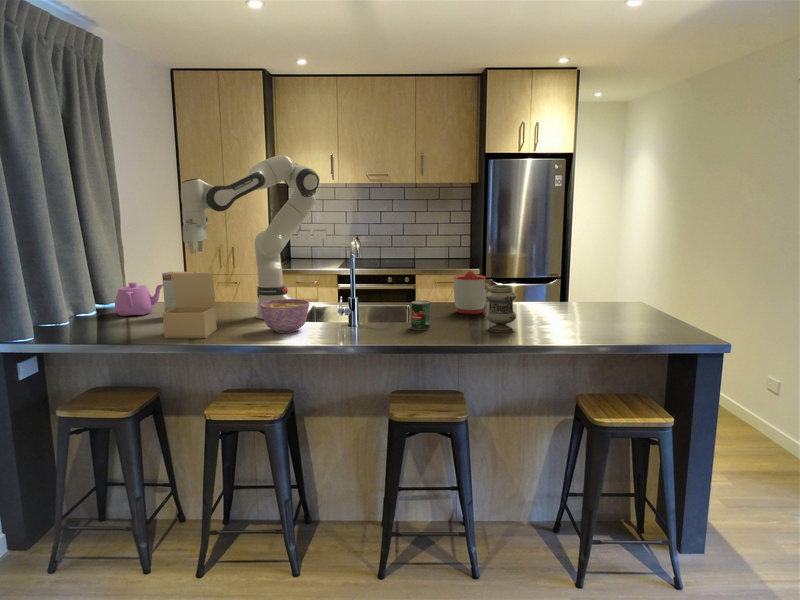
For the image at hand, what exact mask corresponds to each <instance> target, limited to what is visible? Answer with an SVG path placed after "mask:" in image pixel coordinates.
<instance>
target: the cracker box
mask: <svg viewBox="0 0 800 600" xmlns="http://www.w3.org/2000/svg"><path fill="white" fill-rule="evenodd" d="M172 273H198V272H197V271H166V272H163V273H162V274H161V276H162V284H163V286H162V288H163V289H162V291H163V301H164V313H165V312H167V311H169V310H171V309H173V308H175V307H176V301H175V292H174V284H173V276H172Z"/></svg>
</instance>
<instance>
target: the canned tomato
mask: <svg viewBox="0 0 800 600" xmlns="http://www.w3.org/2000/svg"><path fill="white" fill-rule="evenodd" d="M410 307H411V322H410V323H411V329H412V330H415V331H427V330H430V329H431V301H429V300H422V299H421V300H413V301H411V306H410Z"/></svg>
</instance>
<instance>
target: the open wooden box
mask: <svg viewBox="0 0 800 600" xmlns="http://www.w3.org/2000/svg"><path fill="white" fill-rule="evenodd" d="M216 314H217V313H216V306H205V307H175V308H173V309H171V310H169V311H167V312H165V311H164V312H162V321H163V333H164V335H163V336H164V339H165V338H178V339H207V338H209V337H210V336H211V335H213V334H214V333H215V332H216V331H217V330H218V329H217V315H216Z"/></svg>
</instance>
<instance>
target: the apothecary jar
mask: <svg viewBox="0 0 800 600" xmlns="http://www.w3.org/2000/svg"><path fill="white" fill-rule="evenodd" d="M490 287H491V289H490V290H489V291H488V292H486V300H488V303H489V304H488V305H489V307H488V312H486V314H485V318H486V319H487V321H488V322H490V323H492V324H495V325H492V326H489V327H488V331H491V332H494V333H510V332H513V330H514V328H512V327H511V326H509V325H507V324H510V323H512V322H514V321H515V320H516V318H517V314H516V313H515V311H514V301H515V300H516V298H517V294H516V293H515V292H514V291H513V288H512V286H511V285H506V284H505V285H504V284H503V285H501V284H498V285H491V286H490Z"/></svg>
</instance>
